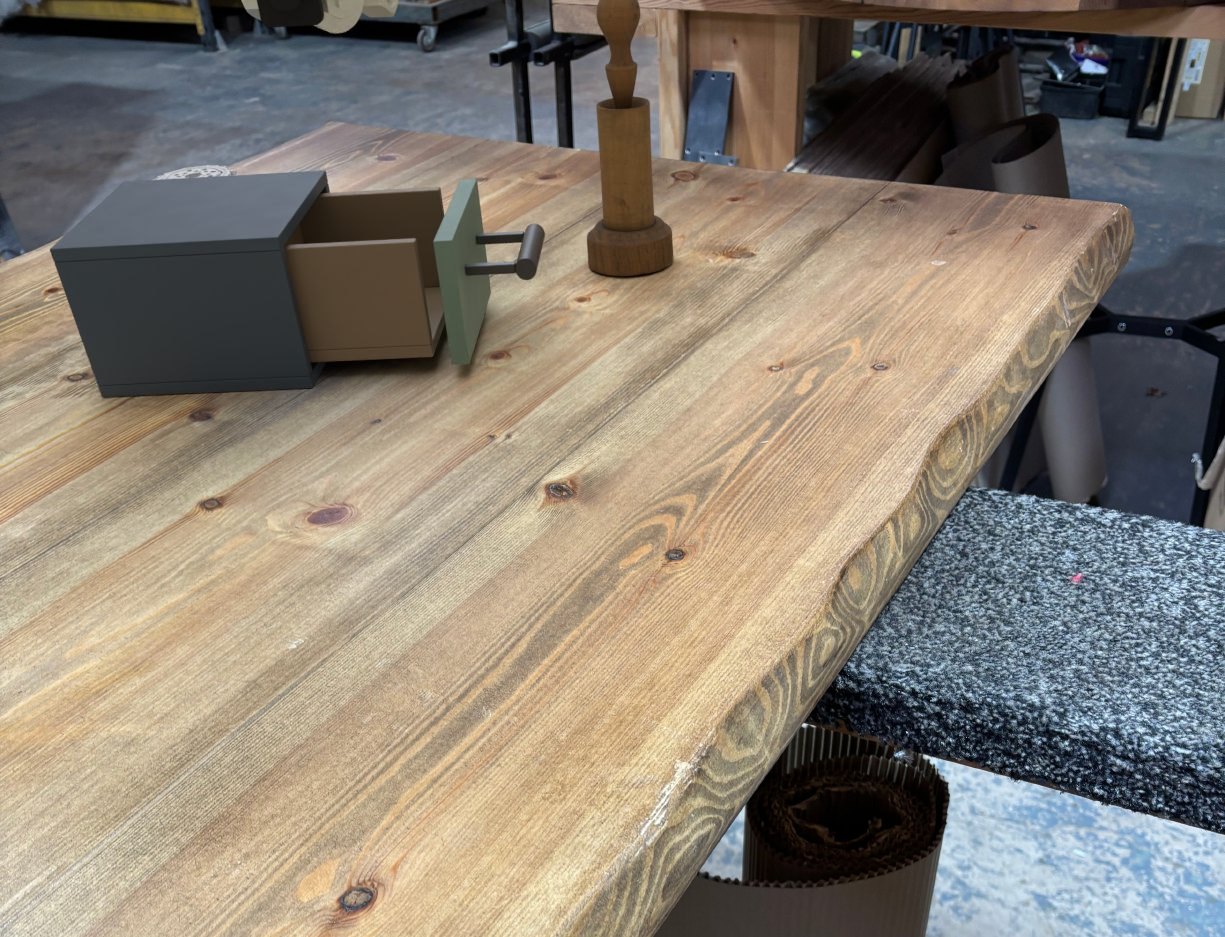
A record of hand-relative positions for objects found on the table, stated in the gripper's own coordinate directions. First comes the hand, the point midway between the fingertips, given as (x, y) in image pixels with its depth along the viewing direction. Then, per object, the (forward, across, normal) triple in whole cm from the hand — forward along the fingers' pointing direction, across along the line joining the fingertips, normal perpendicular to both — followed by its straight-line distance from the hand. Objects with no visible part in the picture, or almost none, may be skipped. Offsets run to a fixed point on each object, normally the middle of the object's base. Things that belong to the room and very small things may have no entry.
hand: (311, 7), depth 66 cm
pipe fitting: (+1, 0, 0) cm, 1 cm away
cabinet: (+22, -8, -12) cm, 26 cm away
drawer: (+21, -8, +1) cm, 22 cm away
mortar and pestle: (+22, -23, +15) cm, 35 cm away
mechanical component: (+22, -36, -23) cm, 48 cm away
